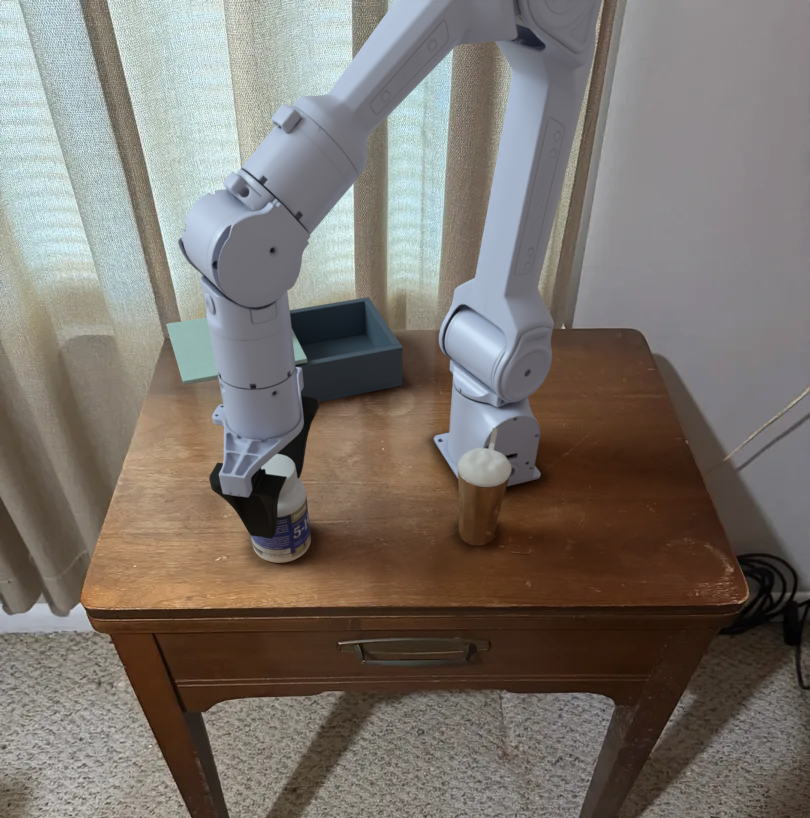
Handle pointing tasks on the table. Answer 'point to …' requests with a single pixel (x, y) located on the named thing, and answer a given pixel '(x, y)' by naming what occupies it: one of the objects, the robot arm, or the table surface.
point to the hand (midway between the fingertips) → (276, 503)
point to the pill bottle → (286, 516)
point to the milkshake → (481, 492)
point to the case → (346, 349)
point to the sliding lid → (203, 350)
